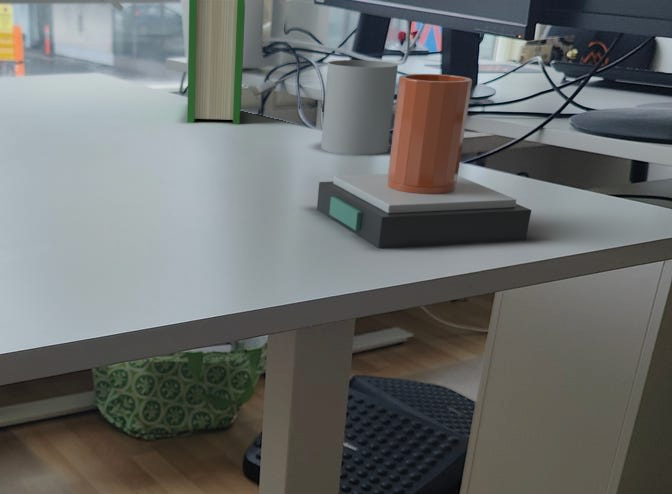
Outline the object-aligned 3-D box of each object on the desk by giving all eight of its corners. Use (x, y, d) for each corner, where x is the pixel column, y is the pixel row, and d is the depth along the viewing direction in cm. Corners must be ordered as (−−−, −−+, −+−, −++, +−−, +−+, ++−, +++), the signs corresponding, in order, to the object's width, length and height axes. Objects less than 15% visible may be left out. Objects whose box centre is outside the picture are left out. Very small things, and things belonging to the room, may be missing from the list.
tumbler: (435, 178, 89) (450, 73, 84) (467, 192, 84) (485, 81, 79) (376, 181, 87) (388, 74, 83) (405, 195, 82) (419, 82, 78)
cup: (315, 153, 118) (322, 65, 113) (326, 142, 125) (333, 59, 120) (383, 158, 116) (393, 68, 111) (391, 147, 123) (401, 62, 118)
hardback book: (239, 125, 136) (247, -71, 124) (187, 124, 136) (190, -72, 124) (240, 107, 151) (248, -69, 139) (194, 106, 152) (197, -70, 139)
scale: (447, 205, 95) (453, 169, 93) (525, 242, 83) (533, 201, 81) (312, 212, 91) (315, 174, 90) (373, 251, 80) (378, 208, 78)
